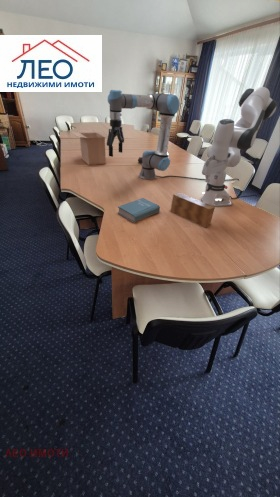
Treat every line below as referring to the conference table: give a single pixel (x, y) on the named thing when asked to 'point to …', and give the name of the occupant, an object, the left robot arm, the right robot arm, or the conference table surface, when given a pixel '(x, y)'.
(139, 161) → the laser sight
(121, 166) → the conference table surface
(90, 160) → the box
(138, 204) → the book
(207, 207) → the long box
